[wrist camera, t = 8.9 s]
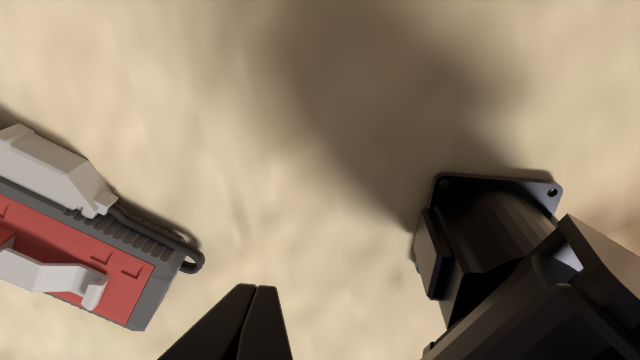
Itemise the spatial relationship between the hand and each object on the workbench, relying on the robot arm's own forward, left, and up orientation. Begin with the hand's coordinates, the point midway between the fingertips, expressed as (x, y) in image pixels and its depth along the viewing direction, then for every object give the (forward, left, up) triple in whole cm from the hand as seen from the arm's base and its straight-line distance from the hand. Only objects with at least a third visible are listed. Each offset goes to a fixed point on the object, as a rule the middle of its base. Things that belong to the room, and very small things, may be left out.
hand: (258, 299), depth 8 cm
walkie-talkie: (+15, +6, -13) cm, 21 cm away
